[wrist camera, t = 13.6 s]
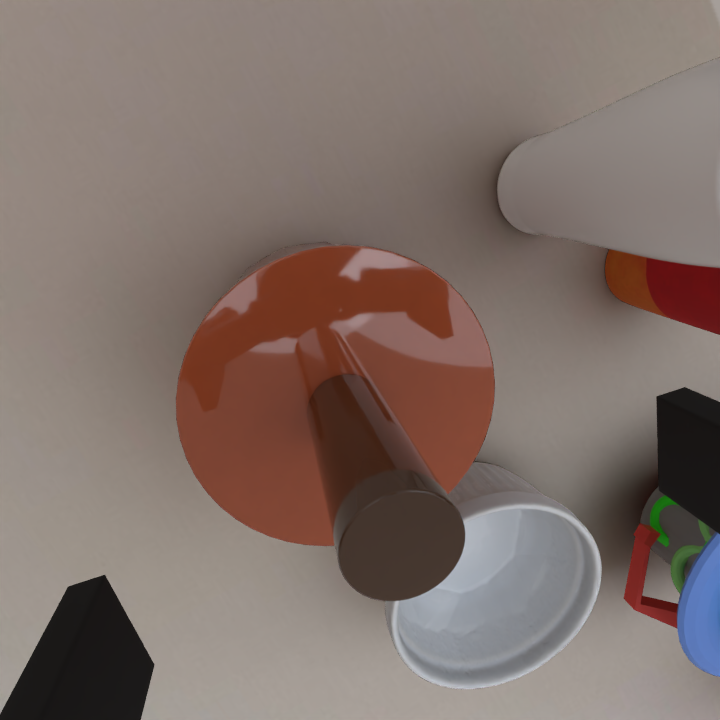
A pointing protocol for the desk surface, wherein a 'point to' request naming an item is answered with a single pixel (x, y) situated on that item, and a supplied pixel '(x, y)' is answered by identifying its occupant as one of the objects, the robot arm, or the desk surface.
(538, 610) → the ramekin
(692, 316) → the paper cup
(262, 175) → the desk surface
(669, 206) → the white plastic tumbler
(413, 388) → the lid
